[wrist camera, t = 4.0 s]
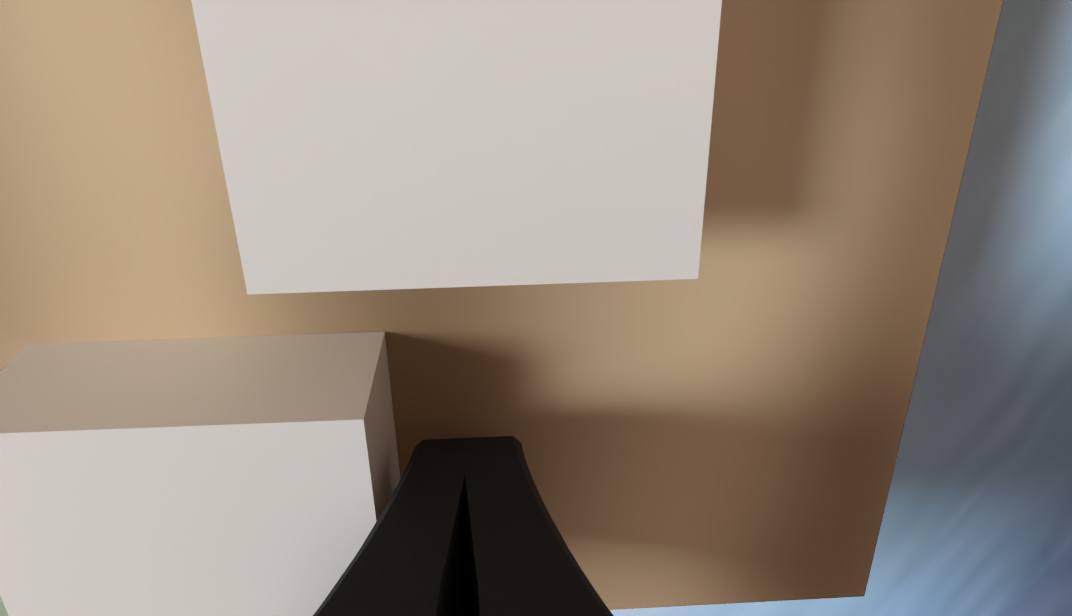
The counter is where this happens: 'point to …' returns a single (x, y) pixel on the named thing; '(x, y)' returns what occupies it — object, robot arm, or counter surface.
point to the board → (564, 309)
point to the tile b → (461, 139)
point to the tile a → (191, 473)
